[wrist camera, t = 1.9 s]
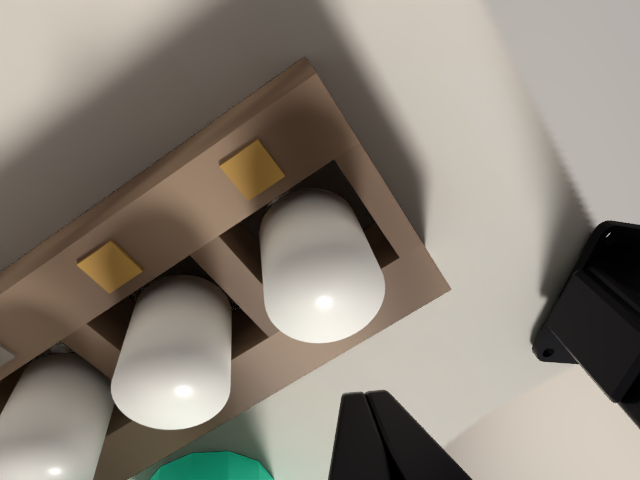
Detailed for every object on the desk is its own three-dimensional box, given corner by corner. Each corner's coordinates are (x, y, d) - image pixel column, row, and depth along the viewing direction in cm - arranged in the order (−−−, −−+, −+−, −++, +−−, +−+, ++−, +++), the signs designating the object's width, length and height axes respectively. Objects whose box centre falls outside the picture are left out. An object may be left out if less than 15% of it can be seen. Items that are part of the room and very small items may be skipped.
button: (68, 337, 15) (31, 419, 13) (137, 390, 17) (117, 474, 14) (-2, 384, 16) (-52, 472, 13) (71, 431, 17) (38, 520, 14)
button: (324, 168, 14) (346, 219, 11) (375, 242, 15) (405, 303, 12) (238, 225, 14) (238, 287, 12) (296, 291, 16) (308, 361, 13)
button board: (304, 56, 14) (317, 74, 12) (425, 250, 18) (452, 291, 15) (-70, 321, 16) (-119, 378, 14) (108, 442, 20) (92, 502, 18)
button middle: (190, 257, 15) (178, 325, 12) (250, 320, 16) (253, 393, 13) (112, 308, 15) (84, 385, 12) (178, 365, 16) (166, 445, 14)
